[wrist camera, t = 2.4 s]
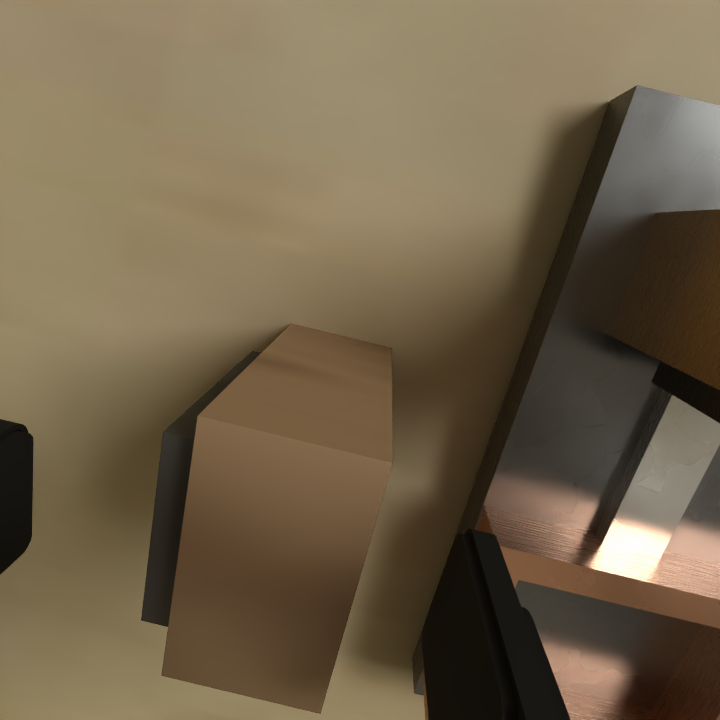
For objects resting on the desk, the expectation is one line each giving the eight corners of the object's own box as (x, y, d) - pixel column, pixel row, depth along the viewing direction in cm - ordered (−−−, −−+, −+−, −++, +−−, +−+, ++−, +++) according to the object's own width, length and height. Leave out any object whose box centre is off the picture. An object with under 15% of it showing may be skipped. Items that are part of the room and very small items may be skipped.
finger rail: (637, 713, 20) (849, 1134, 11) (412, 658, 20) (430, 1033, 10) (942, 182, 13) (2146, 88, 4) (610, 100, 13) (1094, -177, 4)
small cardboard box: (350, 502, 18) (320, 713, 10) (240, 475, 18) (125, 667, 10) (391, 348, 16) (392, 463, 8) (269, 318, 16) (153, 405, 8)
